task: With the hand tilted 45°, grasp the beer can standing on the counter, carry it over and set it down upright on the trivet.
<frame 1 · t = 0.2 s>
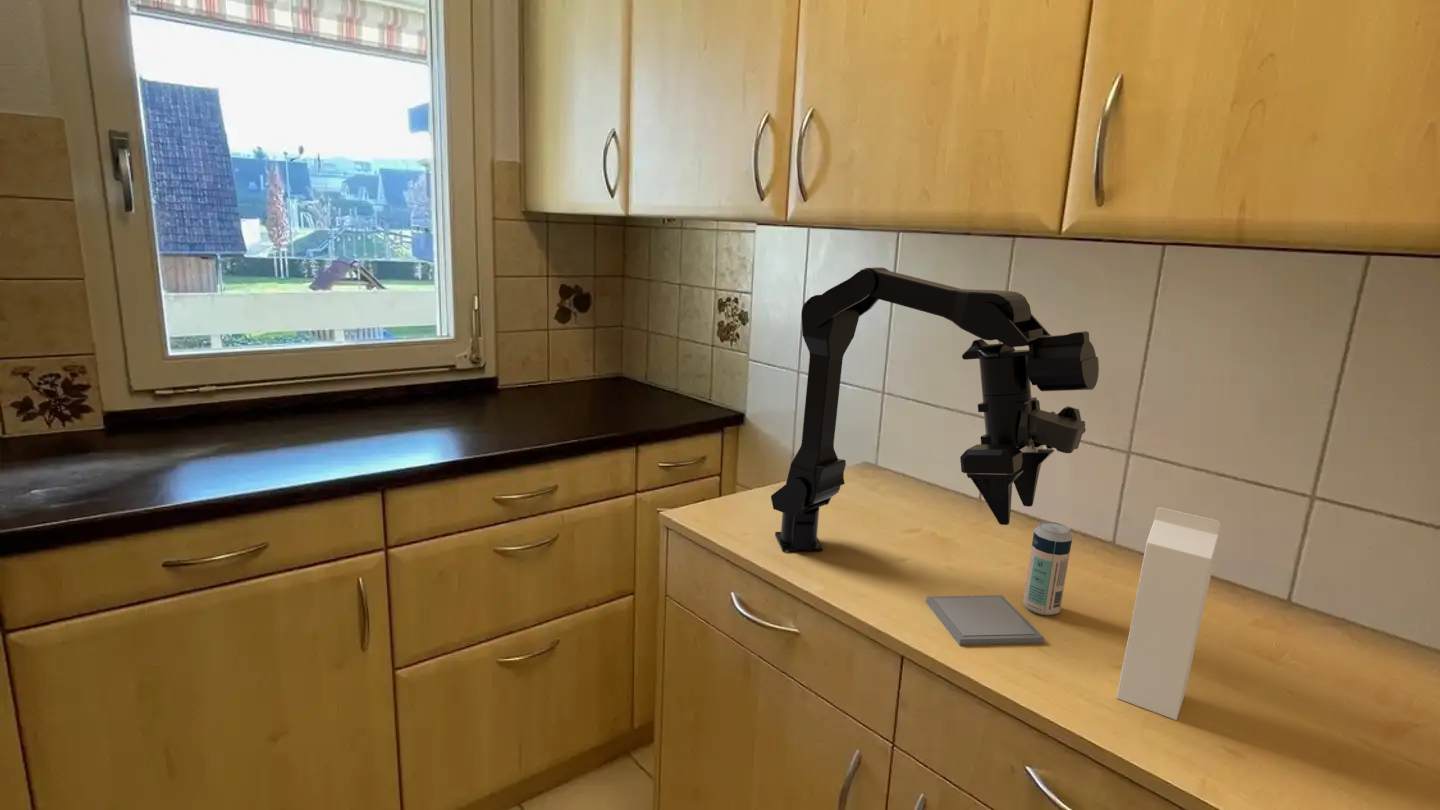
hand: (1016, 515, 98), 15 cm above the worktop, tool pointing down, fingers open, 9 cm apart
beer can: (1040, 610, 106), on the worktop
milk: (1150, 698, 87), on the worktop
trivet: (981, 621, 102), on the worktop
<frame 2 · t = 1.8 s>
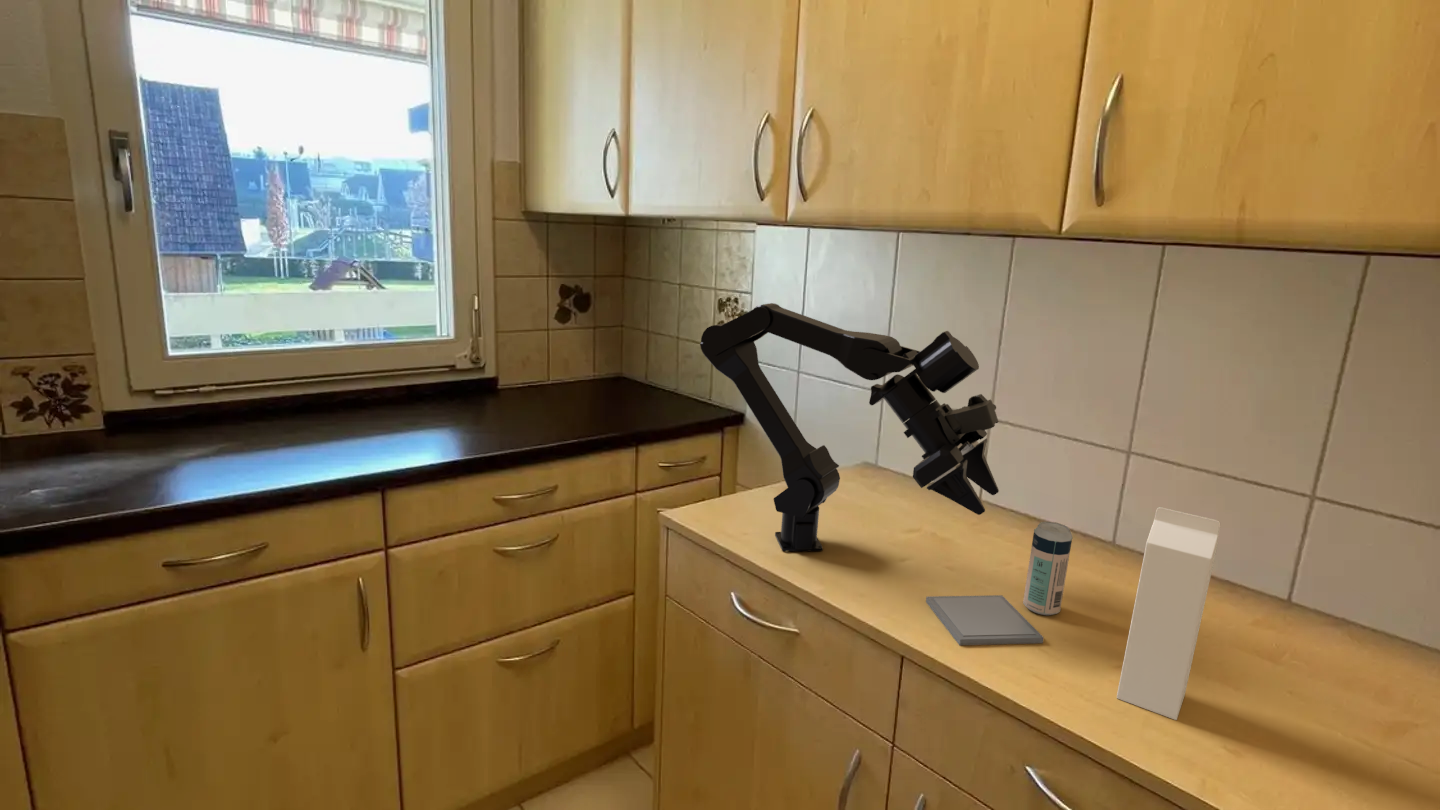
hand: (989, 502, 107), 13 cm above the worktop, tool tilted 45°, fingers open, 9 cm apart
nothing on the worktop moved.
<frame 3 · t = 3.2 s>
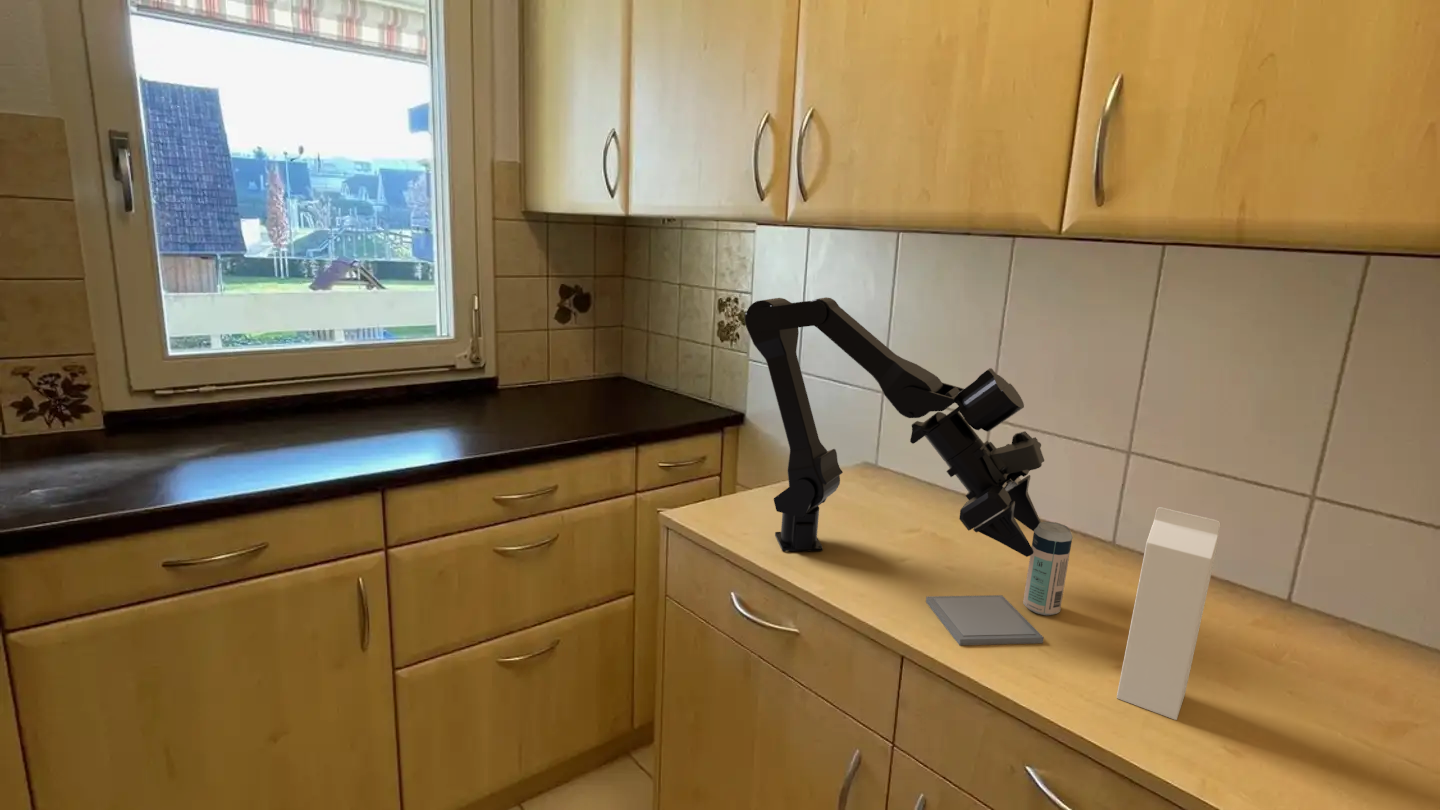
hand: (1036, 542, 105), 9 cm above the worktop, tool tilted 45°, fingers open, 9 cm apart
nothing on the worktop moved.
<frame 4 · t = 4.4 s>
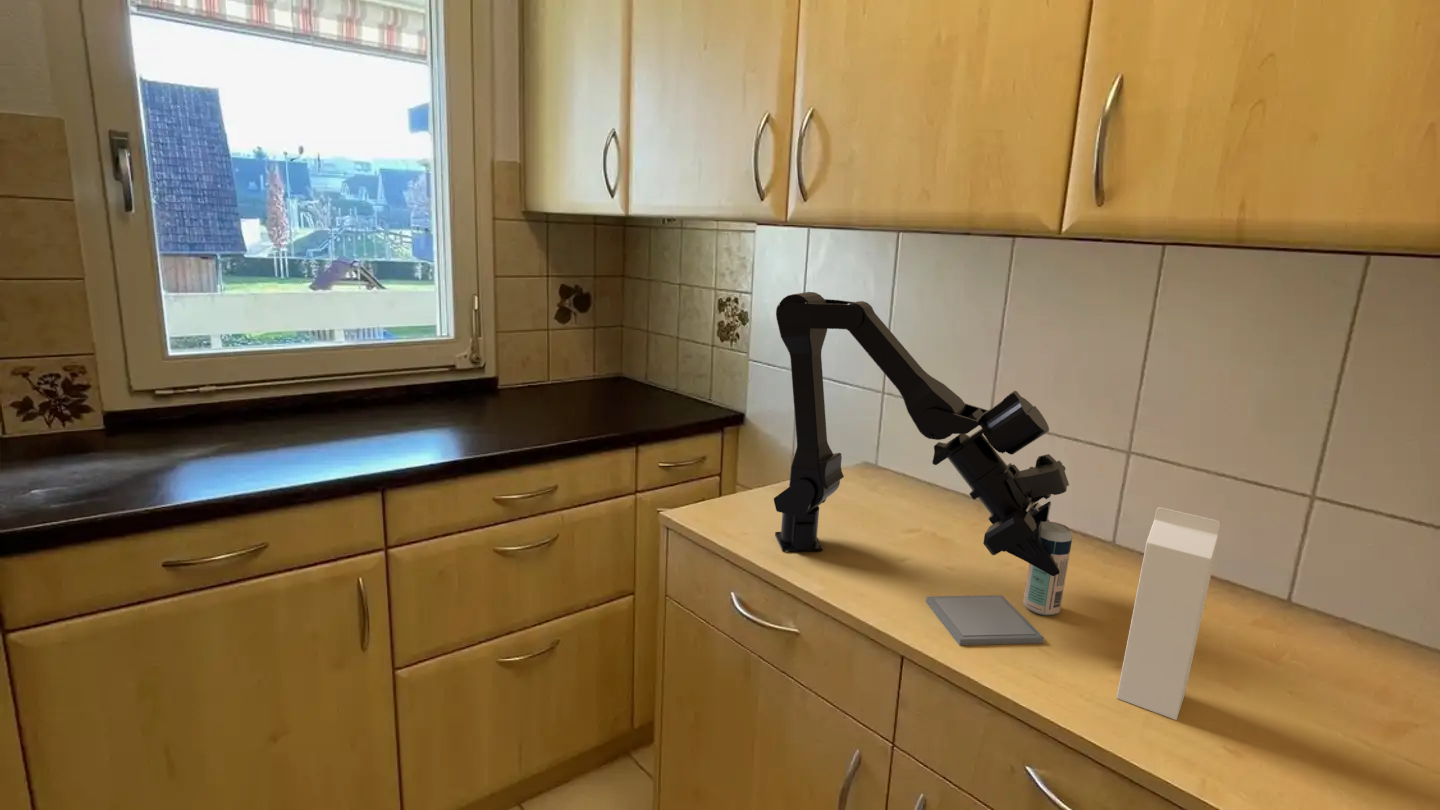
hand: (1059, 567, 104), 7 cm above the worktop, tool tilted 45°, fingers closed on beer can, 5 cm apart
beer can: (1040, 610, 106), on the worktop, touching gripper
everything else where it was.
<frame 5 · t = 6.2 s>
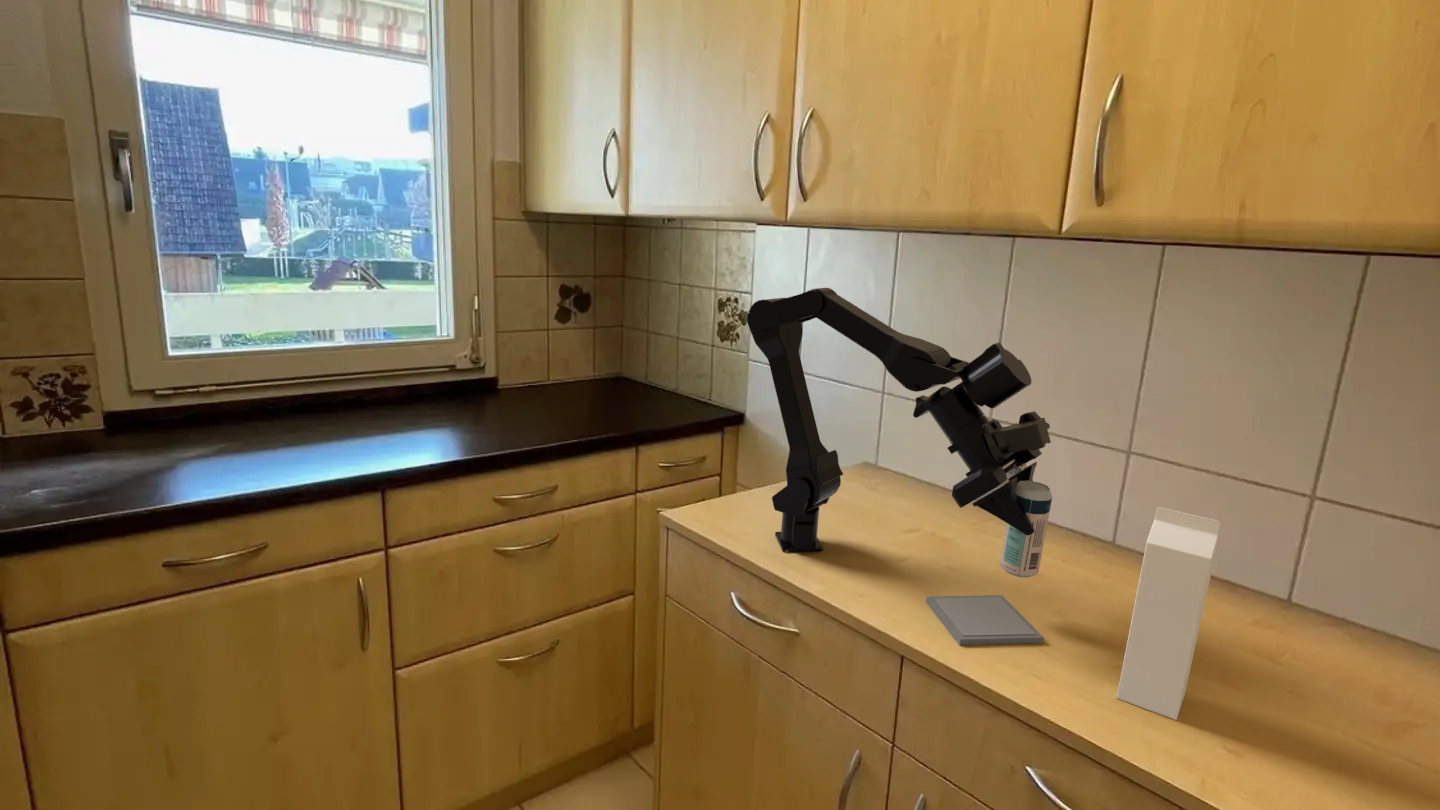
hand: (1037, 527, 100), 13 cm above the worktop, tool tilted 45°, fingers closed on beer can, 5 cm apart
beer can: (1018, 572, 103), point 6 cm above the worktop, touching gripper
everything else where it was.
when the fingers open (9 cm above the worktop, at t = 8.0 s): beer can drops 1 cm, resting on trivet.
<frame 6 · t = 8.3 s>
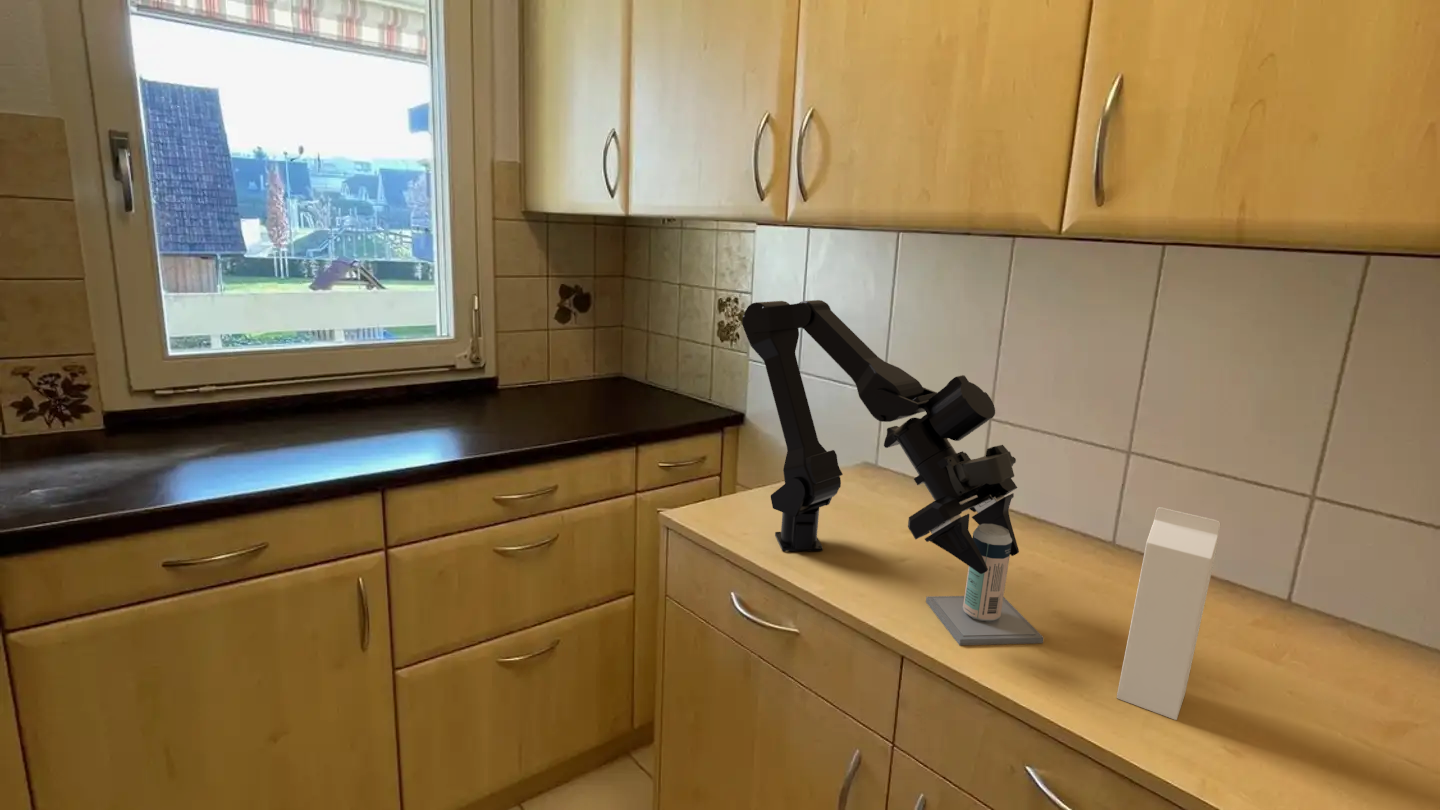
hand: (1000, 563, 99), 9 cm above the worktop, tool tilted 45°, fingers open, 8 cm apart
beer can: (980, 615, 102), point 1 cm above the worktop, touching trivet
everything else where it was.
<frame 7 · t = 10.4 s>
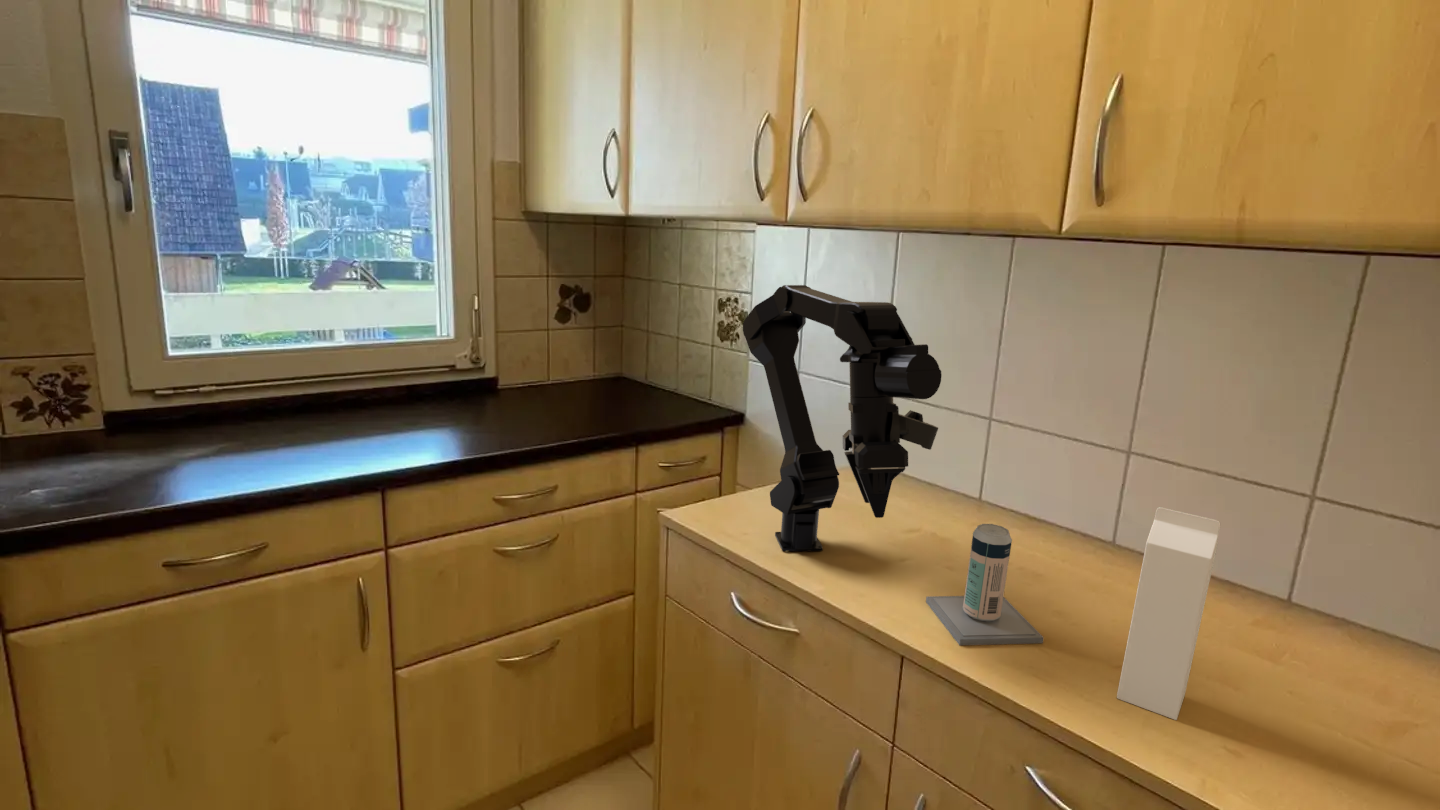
hand: (873, 509, 106), 12 cm above the worktop, tool pointing down, fingers open, 9 cm apart
nothing on the worktop moved.
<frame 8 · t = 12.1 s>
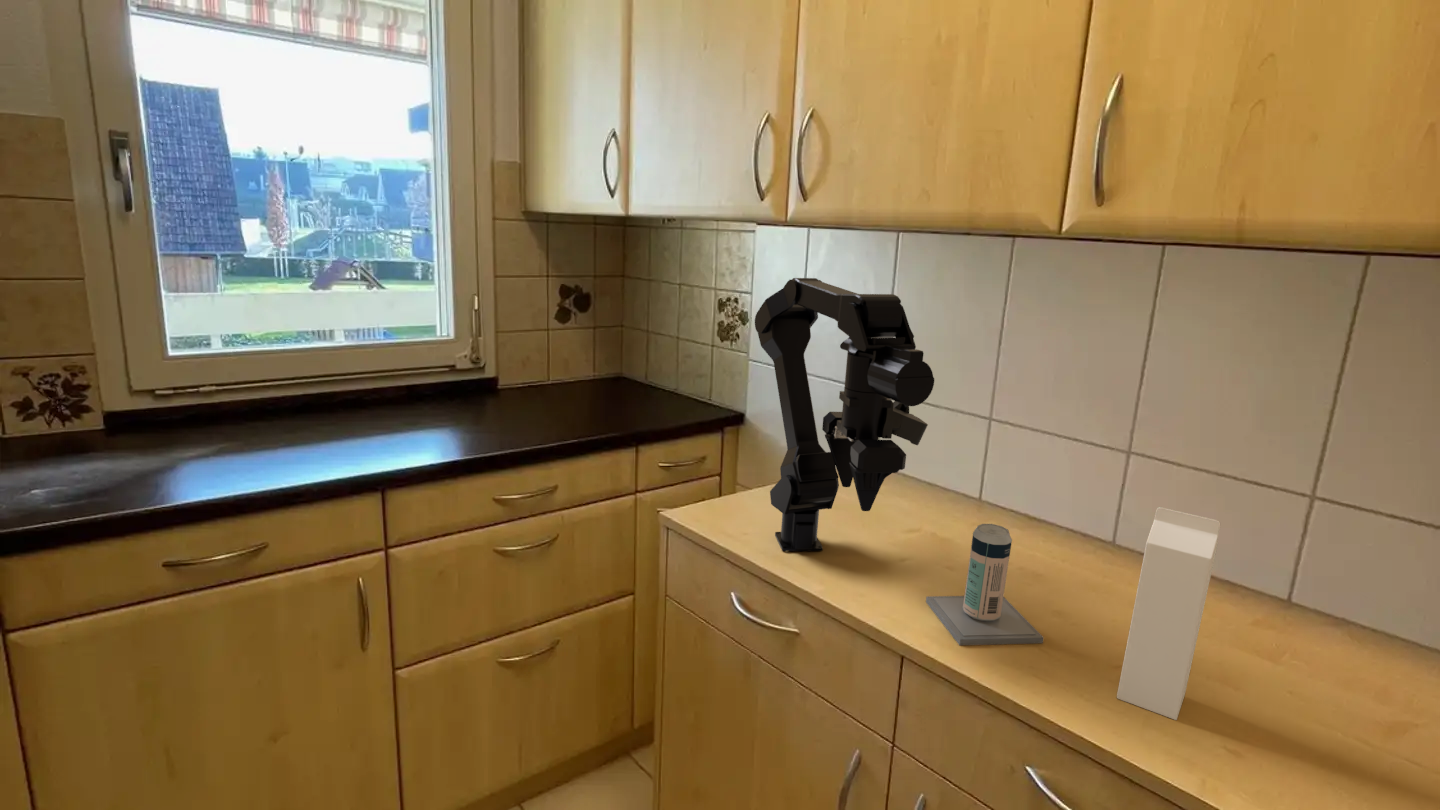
hand: (855, 498, 107), 13 cm above the worktop, tool pointing down, fingers open, 9 cm apart
nothing on the worktop moved.
at the end: beer can inside the target area on the trivet (0.2 cm from its centre), point 0.7 cm above the trivet's base; beer can tilted 0°; the gripper is holding nothing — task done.
